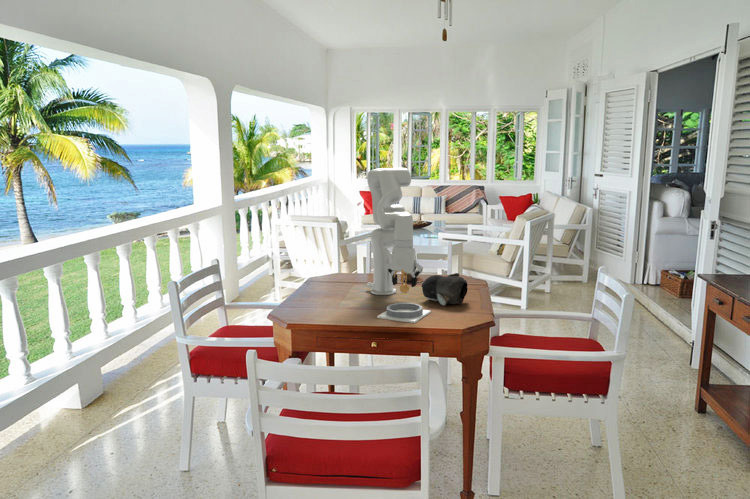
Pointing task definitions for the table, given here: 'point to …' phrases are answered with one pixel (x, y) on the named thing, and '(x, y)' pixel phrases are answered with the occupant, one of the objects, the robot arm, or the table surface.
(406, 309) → the ring stand
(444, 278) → the dark grey rounded piece
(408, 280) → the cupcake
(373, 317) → the table surface
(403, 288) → the figurine
